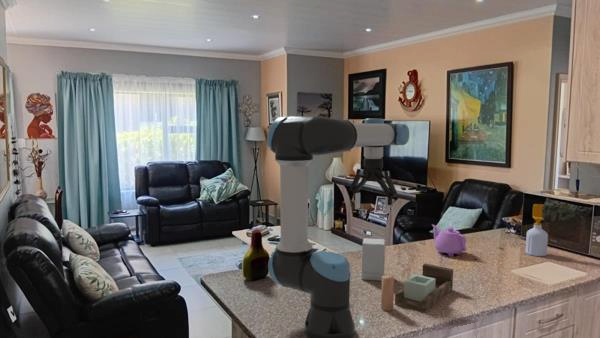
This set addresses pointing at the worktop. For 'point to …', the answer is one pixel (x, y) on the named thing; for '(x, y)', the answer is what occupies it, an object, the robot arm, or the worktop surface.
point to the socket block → (418, 287)
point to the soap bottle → (537, 235)
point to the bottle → (255, 258)
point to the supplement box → (373, 259)
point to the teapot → (449, 241)
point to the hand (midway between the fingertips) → (372, 211)
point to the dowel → (387, 293)
